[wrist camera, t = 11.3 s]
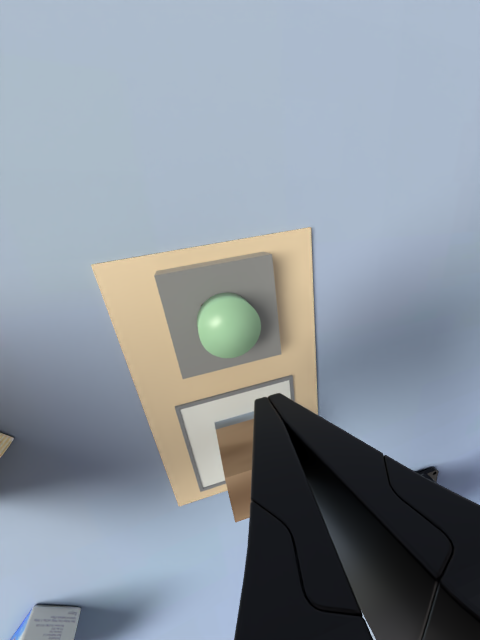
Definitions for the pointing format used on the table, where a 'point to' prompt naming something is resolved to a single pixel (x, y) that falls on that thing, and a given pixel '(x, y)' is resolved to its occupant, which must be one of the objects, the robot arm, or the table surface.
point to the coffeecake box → (4, 443)
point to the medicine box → (49, 623)
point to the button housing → (206, 281)
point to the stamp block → (237, 460)
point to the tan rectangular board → (219, 386)
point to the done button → (228, 325)
